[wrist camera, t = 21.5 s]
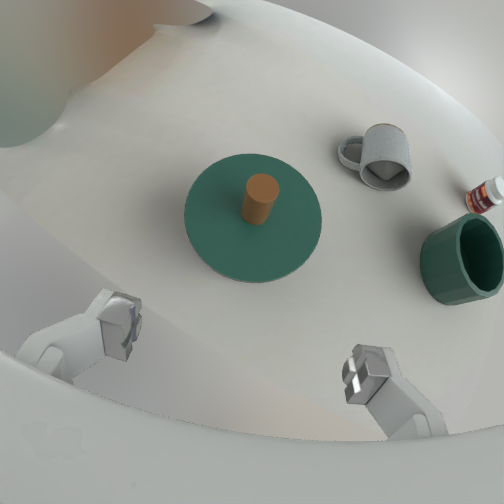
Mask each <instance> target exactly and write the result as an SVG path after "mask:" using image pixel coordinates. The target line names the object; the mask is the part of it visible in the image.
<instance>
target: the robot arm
mask: <svg viewBox="0 0 504 504" xmlns="http://www.w3.org/2000/svg"><path fill="white" fill-rule="evenodd" d="M141 308H142V301H141V299H139V298H136V297H132V296H129V295H126V294H123V293H119V292H115V291H112V290H109V289H106V288H103V289H101V291H100V292H99V293H98V295H97V296H96V297H95V299H94V300H93V302H92V303H91V304H90V306H89V307H88V308H87V310H86V311H85V313H84V314H81V313H80V314H77V315H75V316H72V317H70V318H68V319H65V320H63V321H61V322H58V323H56V324H54V325H51V326H49V327H47V328H44V329H42V330H39V331H37V332H35V333H32V334H30V335H29V336H28V338H27V339H26V340H25V342H24V343H23V345H22V346H21V347H20V349H19V350H18V352H17V353H16V354H15V356H14V357H13V356H12V355H10V354H8V353H6V352H4V351H3V350H1V349H0V504H504V425H498V426H493V427H488V428H484V429H479V430H474V431H469V432H463V433H457V434H451V435H449V434H448V431H447V428H446V425H445V422H444V419H443V416H442V413H441V412H440V411H439V410H438V409H437V408H436V407H435V406H434V405H433V404H432V403H431V402H430V401H429V400H428V399H427V398H426V397H425V396H424V395H423V394H422V393H421V392H420V391H419V390H418V389H417V388H416V387H415V386H414V385H412V384H411V383H410V382H409V381H408V380H407V379H406V378H403V377H402V374H401V371H400V368H399V365H398V363H397V360H396V357H395V354H394V352H393V350H392V349H391V348H387V347H376V346H368V345H360V344H358V345H356V346H355V347H354V349H353V350H352V352H353V356H351V357H349V358H347V360H346V362H345V363H344V366H343V370H342V378H343V382H344V383H345V384H346V385H347V387H346V389H345V395H346V401H347V403H348V404H360V405H366V408H367V409H368V410H369V412H370V413H371V414H372V416H373V417H374V419H375V420H376V421H377V423H378V424H379V426H380V427H381V428H382V430H383V431H384V432H385V434H386V435H387V437H388V439H387V440H386V441H363V442H362V441H361V442H347V441H345V442H343V441H314V440H300V439H288V438H277V437H269V436H261V435H253V434H247V433H240V432H234V431H228V430H223V429H217V428H212V427H207V426H203V425H198V424H194V423H189V422H185V421H181V420H177V419H173V418H169V417H165V416H161V415H158V414H154V413H151V412H147V411H143V410H141V409H137V408H134V407H131V406H128V405H125V404H122V403H119V402H116V401H113V400H110V399H107V398H105V397H102V396H99V395H96V394H94V393H91V392H89V391H86V390H84V389H81V388H79V387H76V386H74V384H73V381H72V378H74V377H75V376H77V375H78V374H80V373H81V372H83V371H85V370H86V369H88V368H89V367H91V366H92V365H93V364H95V363H97V362H98V361H99V360H101V359H103V358H104V357H105V355H106V356H109V357H112V358H115V359H119V360H122V361H127V359H128V357H129V355H130V353H131V351H132V342H134V341H136V340H137V338H138V336H139V332H140V329H141V323H142V316H141V315H140V313H139V312H140V310H141Z"/></svg>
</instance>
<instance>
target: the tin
mask: <svg viewBox="0 0 504 504" xmlns="http://www.w3.org/2000/svg"><path fill="white" fill-rule="evenodd" d="M420 266H421V273H422V277H423V280H424V283H425V285H426V287H427V289H428V291H429V292H430V294H431V295H432V296H433V297H434V298H435V299H436V300H437V301H439V302H440V303H442V304H445V305H458V304H463V303H467V302H472V301H476V300H481V299H485V298H489V297H491V296H493V295H495V294H497V293H498V291H499V290H500V288H501V286H502V285H503V282H504V249H503V245H502V242H501V239H500V237H499V235H498V233H497V231H496V230H495V228H494V226H493V225H492V224H491V223H490V222H489V221H488V220H487V219H486V218H485V217H484V216H482V215H479V214H477V213H470V214H465V215H464V216H462V217H460V218H458V219H457V220H455V221H453V222H451V223H450V224H448V225H446V226H444V227H442V228H441V229H439V230H437V231H435V232H434V233H433V234H431V235H430V236H429V237H428V238H427V239H426V241H425V242H424V244H423V247H422V250H421V257H420Z"/></svg>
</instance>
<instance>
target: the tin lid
mask: <svg viewBox="0 0 504 504" xmlns="http://www.w3.org/2000/svg"><path fill="white" fill-rule="evenodd" d="M184 217H185V226H186V231H187V235H188V237H189V240H190V243H191V244H192V246H193V248H194V250H195V251H196V253H197V254H198V255H199V257H200V258H201V259H202V260H203V261H204V262H205V263H206V264H207V265H208V266H209V267H211V268H212V269H213V270H214V271H216V272H218V273H219V274H221V275H223V276H225V277H228V278H230V279H233V280H237V281H240V282H247V283H264V282H270V281H274V280H278V279H280V278H283V277H285V276H287V275H289V274H291V273H292V272H294V271H295V270H297V269H298V268H299V267H300V266H302V265H303V264H304V263H305V262H306V260H307V259H308V258H309V257H310V256H311V254H312V253H313V251H314V249H315V247H316V245H317V243H318V240H319V237H320V233H321V225H322V217H321V209H320V205H319V202H318V199H317V196H316V194H315V192H314V190H313V188H312V187H311V186H310V184H309V183H308V181H307V180H306V179H305V178H304V177H303V176H302V175H301V174H300V173H299V172H298V171H297V170H296V169H294V168H293V167H291V166H290V165H288V164H286V163H285V162H283V161H281V160H278V159H276V158H273V157H270V156H266V155H260V154H240V155H234V156H230V157H227V158H224V159H222V160H220V161H218V162H216V163H214V164H212V165H211V166H210V167H208V168H207V169H206V170H204V171H203V172H202V173H201V174H200V176H199V177H198V178H197V179H196V181H195V182H194V183H193V185H192V187H191V189H190V191H189V193H188V196H187V199H186V204H185V212H184Z"/></svg>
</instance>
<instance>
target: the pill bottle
mask: <svg viewBox="0 0 504 504" xmlns="http://www.w3.org/2000/svg"><path fill="white" fill-rule="evenodd" d="M503 199H504V181H503V180H502V178H500V177H498V176H497V177H495V178H493V179H492V180H487V181H485V182H484V183H482V184H481V185H479V186H478V187H476V188H475V189H473V190H472V191H470V192H469V193H467V195H466V204H467V206H468V209H469V210H470V212H471V213H477V214H479V215H480V214H482V213H484V212H486V211H488V210H489V209H491V208H493V207H495V206H497V205H499V204H500V202H501V200H503Z"/></svg>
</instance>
